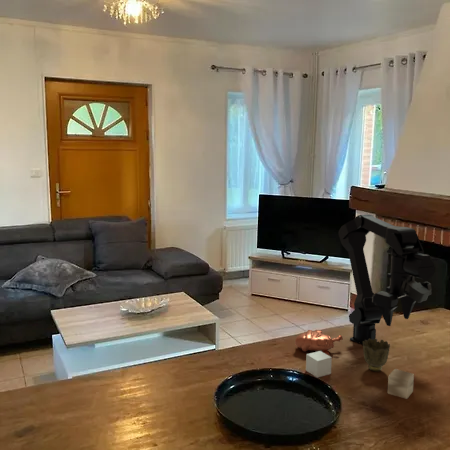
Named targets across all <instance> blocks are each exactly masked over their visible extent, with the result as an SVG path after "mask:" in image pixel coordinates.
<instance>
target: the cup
mask: <svg viewBox="0 0 450 450" xmlns="http://www.w3.org/2000/svg"><path fill="white" fill-rule="evenodd" d="M376 339H377V338H376ZM376 339H374V340H372V339H370V338H369V339H368V340H365V342H364V341H363V344H362V349H363V358H364V361H365V363H366V364H368V369H369V370H370V371H372V372H381V370H382V369H383V366H384V365H386V364H387V361H388V359H389V353H390V349H391V344H390V343H389V342H388V341H386V340H385V341H384V340H383V339H380V340H379V341H378V340H377V341H376Z"/></svg>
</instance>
